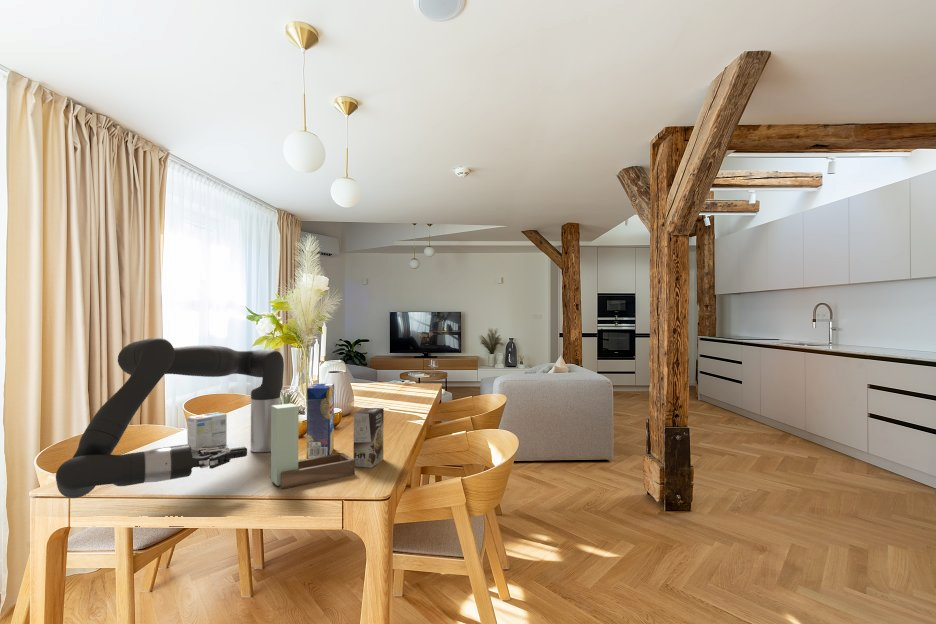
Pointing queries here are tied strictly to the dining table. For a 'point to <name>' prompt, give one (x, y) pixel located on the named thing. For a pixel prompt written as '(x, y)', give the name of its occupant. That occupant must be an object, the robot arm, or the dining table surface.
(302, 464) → the chute
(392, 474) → the dining table surface
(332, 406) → the beverage box
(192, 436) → the light bulb box
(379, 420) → the coffee box
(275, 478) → the block
